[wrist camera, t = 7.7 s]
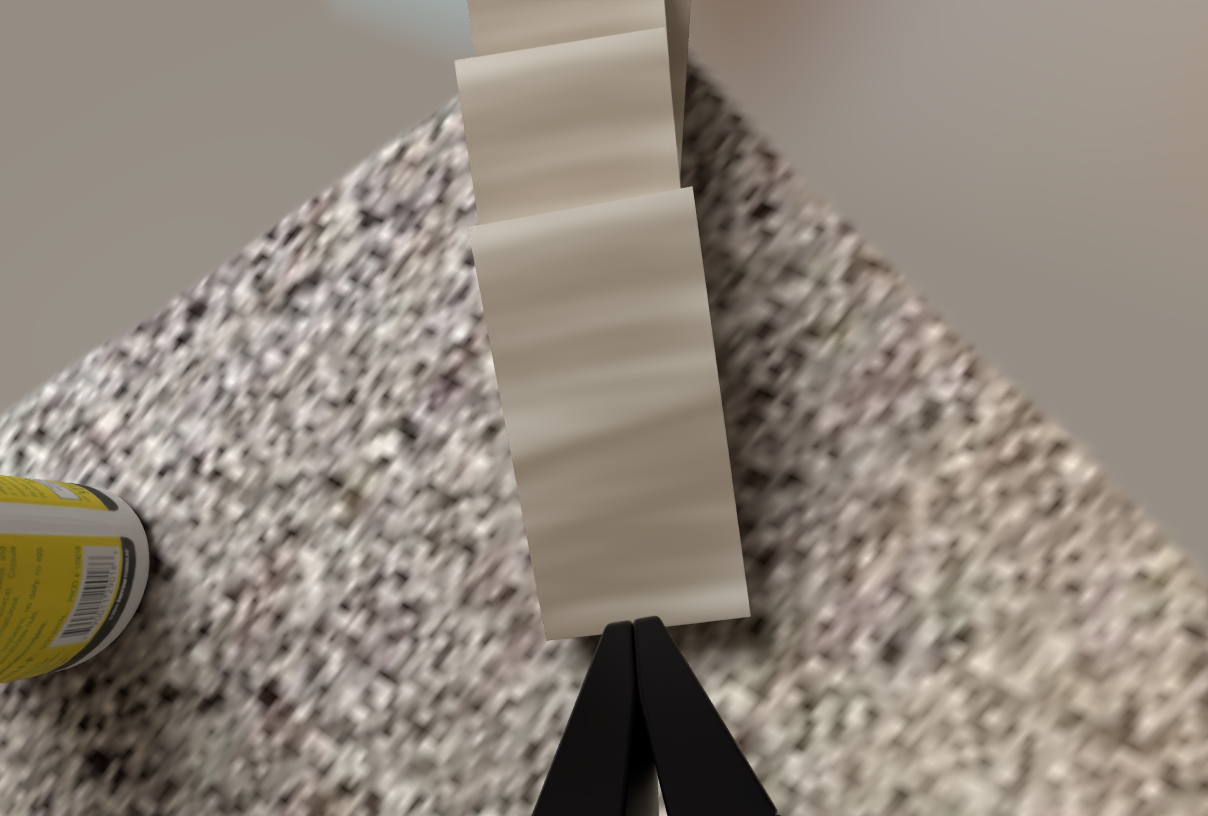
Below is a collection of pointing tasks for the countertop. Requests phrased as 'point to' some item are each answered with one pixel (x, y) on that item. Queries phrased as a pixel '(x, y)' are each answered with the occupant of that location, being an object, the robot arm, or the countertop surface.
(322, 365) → the countertop surface
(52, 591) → the supplement bottle
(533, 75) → the domino
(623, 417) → the domino
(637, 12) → the domino
